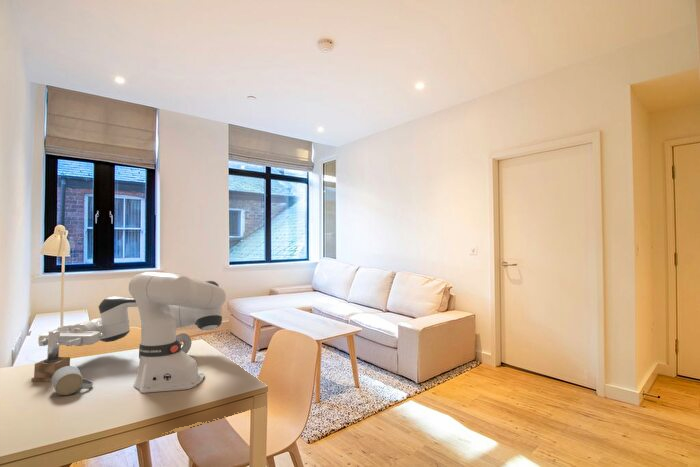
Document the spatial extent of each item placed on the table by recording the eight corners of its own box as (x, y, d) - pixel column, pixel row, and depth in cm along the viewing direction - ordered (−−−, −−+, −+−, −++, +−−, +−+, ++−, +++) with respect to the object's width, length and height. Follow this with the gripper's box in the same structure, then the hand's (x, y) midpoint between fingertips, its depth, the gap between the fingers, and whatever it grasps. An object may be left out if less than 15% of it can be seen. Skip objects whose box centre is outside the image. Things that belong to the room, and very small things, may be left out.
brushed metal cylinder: (60, 357, 128) (62, 330, 128) (54, 360, 125) (55, 332, 125) (52, 357, 128) (53, 330, 128) (44, 360, 124) (46, 332, 125)
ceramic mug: (54, 399, 108) (56, 375, 108) (50, 392, 113) (51, 368, 114) (95, 390, 116) (97, 367, 116) (89, 383, 121) (91, 361, 122)
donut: (172, 360, 145) (173, 336, 146) (167, 359, 147) (168, 335, 147) (192, 354, 154) (193, 331, 155) (187, 352, 156) (188, 330, 156)
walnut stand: (71, 372, 130) (72, 355, 130) (54, 381, 122) (55, 362, 122) (49, 372, 130) (50, 355, 130) (31, 381, 122) (32, 363, 122)
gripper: (107, 342, 141) (83, 352, 127) (55, 342, 140) (25, 352, 126) (108, 326, 141) (84, 335, 128) (56, 326, 140) (26, 335, 126)
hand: (54, 344), depth 127 cm, fingers open, 8 cm apart
